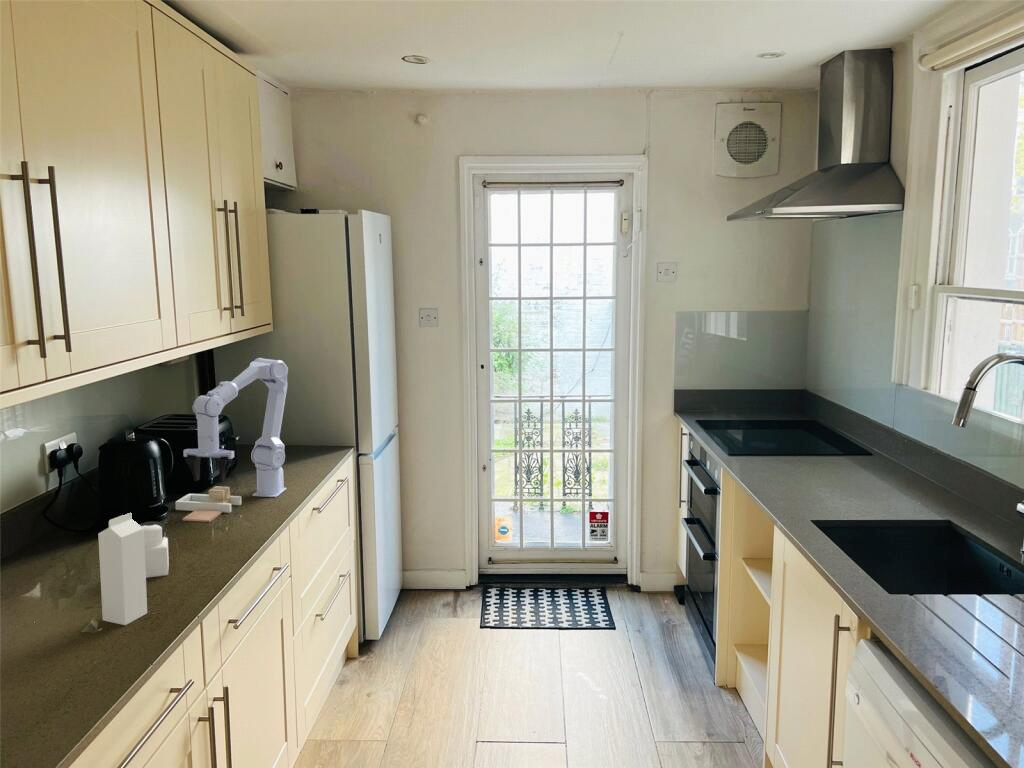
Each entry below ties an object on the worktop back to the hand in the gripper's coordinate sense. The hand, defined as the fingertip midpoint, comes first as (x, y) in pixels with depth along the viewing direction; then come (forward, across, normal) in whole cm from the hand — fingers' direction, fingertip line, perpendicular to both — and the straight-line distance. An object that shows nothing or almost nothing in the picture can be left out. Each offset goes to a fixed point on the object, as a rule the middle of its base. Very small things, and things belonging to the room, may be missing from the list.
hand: (209, 480), depth 223 cm
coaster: (+10, 0, -5) cm, 11 cm away
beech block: (+10, +1, +4) cm, 11 cm away
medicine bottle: (+10, +6, -45) cm, 46 cm away
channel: (+10, -2, +4) cm, 11 cm away
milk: (+10, +13, -68) cm, 70 cm away
